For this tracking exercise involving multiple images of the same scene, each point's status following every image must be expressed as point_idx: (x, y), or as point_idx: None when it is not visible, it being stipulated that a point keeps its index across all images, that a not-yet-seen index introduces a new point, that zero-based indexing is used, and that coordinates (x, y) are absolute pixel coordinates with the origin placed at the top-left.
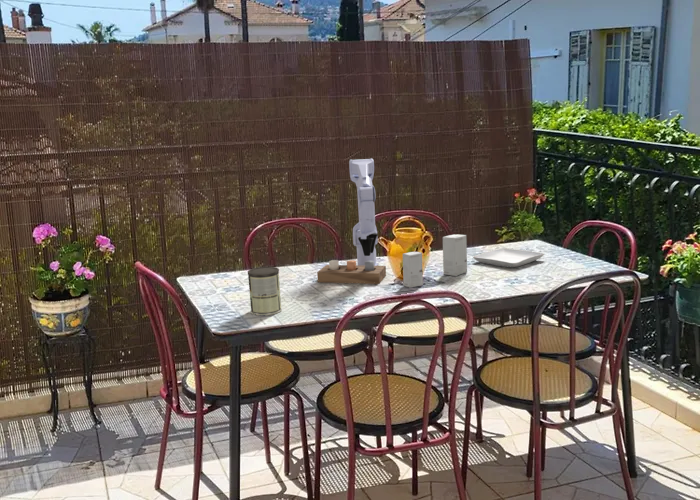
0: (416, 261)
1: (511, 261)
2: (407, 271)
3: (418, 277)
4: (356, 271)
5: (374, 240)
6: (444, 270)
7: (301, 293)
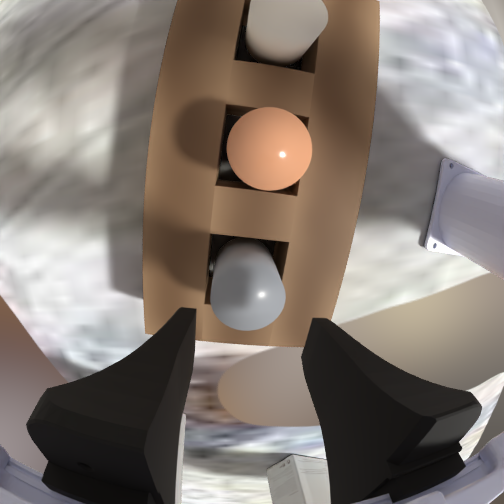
0: None
1: None
2: None
3: None
4: (185, 194)
5: (329, 460)
6: (291, 465)
7: (34, 11)
